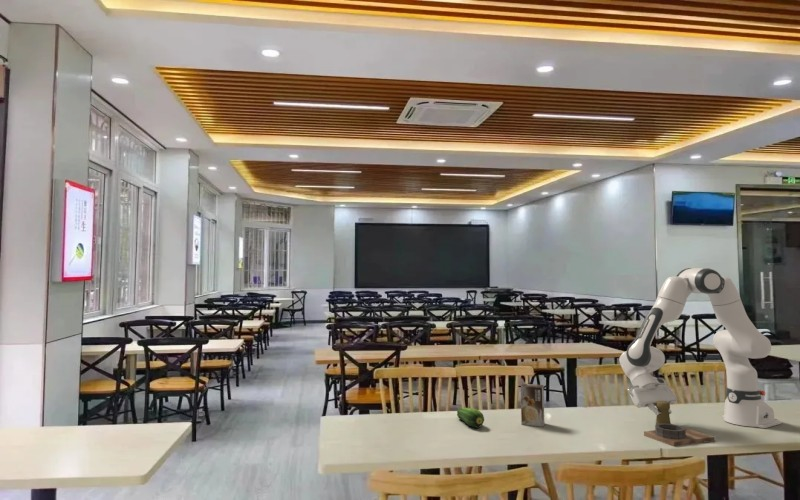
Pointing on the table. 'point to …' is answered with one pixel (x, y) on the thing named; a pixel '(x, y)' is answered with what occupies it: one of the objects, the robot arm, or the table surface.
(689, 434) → the caddy board
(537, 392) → the coffee box
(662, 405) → the cork
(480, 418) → the vegetable
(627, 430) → the table surface
